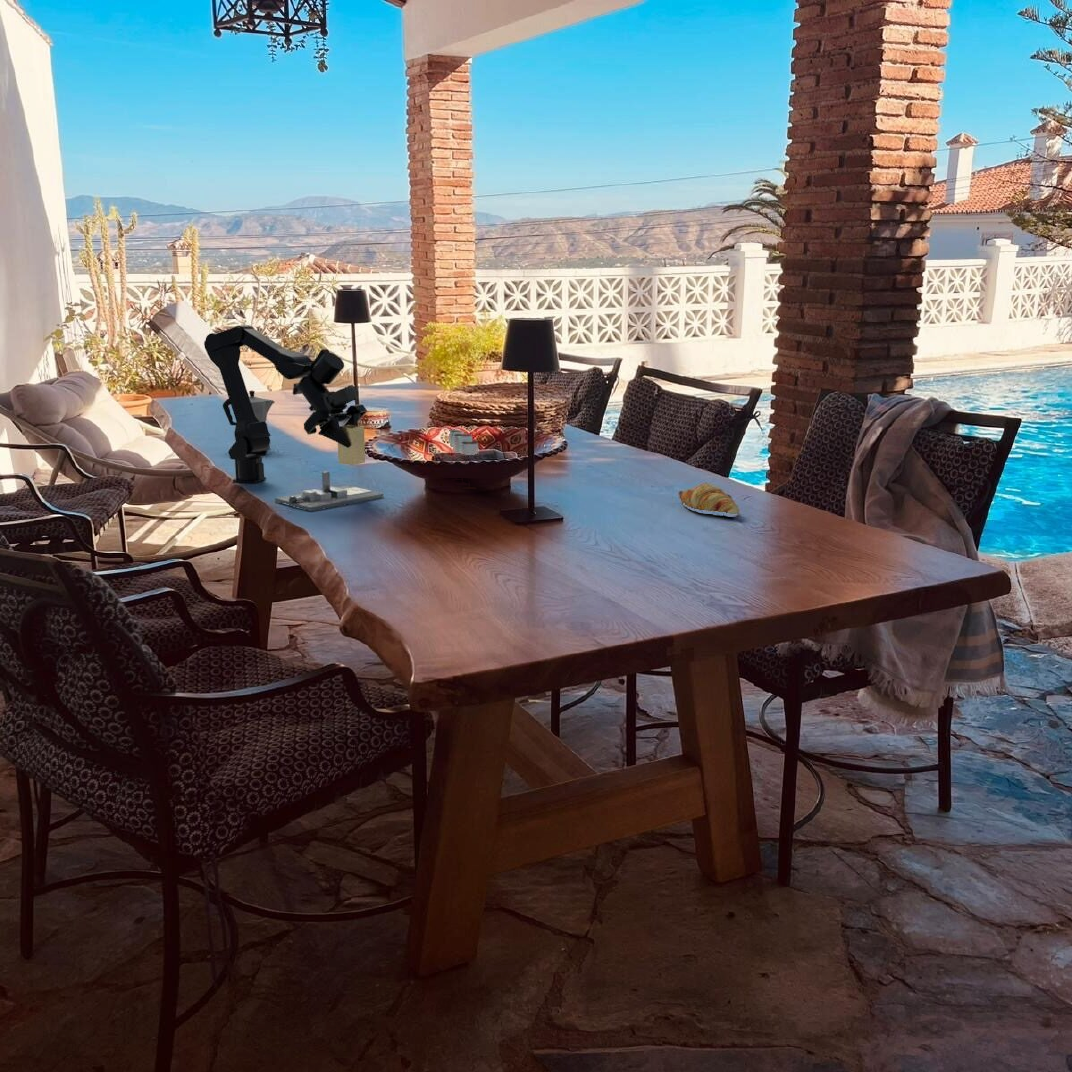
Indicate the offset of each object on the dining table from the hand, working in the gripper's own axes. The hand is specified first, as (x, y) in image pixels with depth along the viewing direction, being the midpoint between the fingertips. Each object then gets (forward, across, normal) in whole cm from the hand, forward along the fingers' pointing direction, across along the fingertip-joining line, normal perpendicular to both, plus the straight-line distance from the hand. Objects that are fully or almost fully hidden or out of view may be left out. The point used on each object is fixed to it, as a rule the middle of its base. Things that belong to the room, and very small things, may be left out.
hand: (355, 445), depth 255 cm
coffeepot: (-39, +37, +58) cm, 80 cm away
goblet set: (+16, +31, +3) cm, 35 cm away
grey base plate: (+7, -8, +11) cm, 15 cm away
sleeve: (+2, 0, +4) cm, 5 cm away
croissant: (+66, +31, -48) cm, 87 cm away
